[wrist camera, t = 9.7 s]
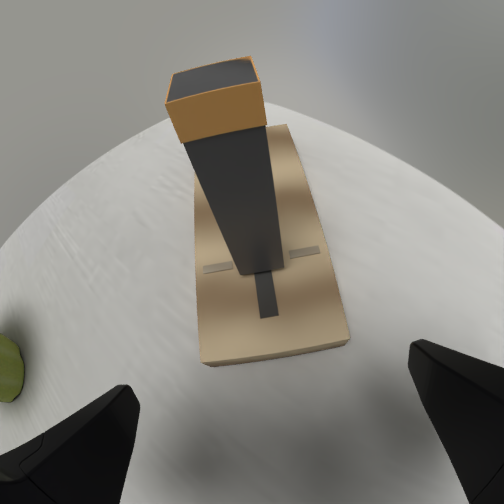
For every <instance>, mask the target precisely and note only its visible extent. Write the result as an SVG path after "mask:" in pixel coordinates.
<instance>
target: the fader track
mask: <svg viewBox="0 0 504 504" xmlns="http://www.w3.org/2000/svg"><path fill="white" fill-rule="evenodd" d="M266 133H267V140H268V146H269V153H270V160H271V167H272V174H273V181H274V188H275V196H276V203H277V211H278V219H279V227H280V235H281V243H282V251H283V260H284V268H280V269H274V270H268V271H263V272H257V273H251V274H246V275H240V274H239V272H238V270H237V267H236V265H235V263H234V261H233V258H232V256H231V254H230V252H229V249H228V247H227V245H226V242H225V240H224V238H223V236H222V233H221V231H220V229H219V226H218V224H217V222H216V220H215V217H214V215H213V213H212V210H211V208H210V206H209V203H208V201H207V199H206V196H205V194H204V192H203V189H202V187H201V185H200V182H199V180H198V178H197V175H196V173H195V190H194V219H195V269H196V295H197V315H198V332H199V347H200V360H201V363H203V364H205V365H208V366H210V367H216V366H225V365H234V364H242V363H250V362H257V361H264V360H270V359H277V358H283V357H289V356H295V355H300V354H305V353H311V352H316V351H321V350H326V349H330V348H335V347H340V346H344V345H345V344H346V343H347V342H348V340H349V339H350V335H349V331H348V326H347V322H346V318H345V314H344V309H343V305H342V301H341V297H340V293H339V289H338V285H337V281H336V277H335V274H334V270H333V266H332V263H331V259H330V255H329V252H328V248H327V245H326V241H325V238H324V234H323V231H322V227H321V224H320V221H319V218H318V214H317V211H316V208H315V205H314V201H313V198H312V195H311V192H310V189H309V186H308V183H307V180H306V177H305V174H304V171H303V168H302V165H301V162H300V159H299V157H298V154H297V151H296V148H295V145H294V143H293V140H292V137H291V134H290V132H289V129H288V126H287V124H283V125H277V126H270V127H266Z"/></svg>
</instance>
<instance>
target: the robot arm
mask: <svg viewBox="0 0 504 504" xmlns="http://www.w3.org/2000/svg"><path fill="white" fill-rule="evenodd" d="M408 368H409V371H410V373H411V376H412V378H413V381H414V383H415V386H416V388H417V391H418V394H419V396H420V399H421V401H422V404H423V406H424V408H425V410H426V412H427V414H428V416H429V418H430V420H431V422H432V424H433V426H434V428H435V430H436V432H437V434H438V436H439V438H440V440H441V442H442V444H443V446H444V448H445V450H446V452H447V454H448V456H449V458H450V460H451V463H452V465H453V467H454V469H455V471H456V473H457V476H458V478H459V480H460V483H461V485H462V487H463V490H464V492H465V494H466V497H467V499H468V502H469V504H504V368H502V367H499V366H497V365H494V364H491V363H488V362H485V361H482V360H480V359H477V358H474V357H471V356H468V355H466V354H463V353H460V352H457V351H454V350H452V349H449V348H446V347H443V346H441V345H438V344H435V343H433V342H430V341H427V340H424V339H420V340H417V341H414V342H412V343H411V344H410V350H409V359H408ZM139 413H140V403H139V401H138V399H137V397H136V395H135V394H134V392H133V390H132V388H131V387H130V386H129V385H117V386H115V387H114V388H112V389H111V390H109V391H108V392H106V393H105V394H103V395H102V396H100V397H99V398H97V399H96V400H94V401H93V402H91V403H89V404H88V405H86V406H85V407H83V408H82V409H80V410H79V411H77V412H76V413H74V414H72V415H71V416H69V417H68V418H66V419H64V420H63V421H61V422H60V423H58V424H57V425H55V426H53V427H52V428H50V429H48V430H47V431H45V433H42V434H40V435H39V436H37V437H35V438H34V439H32V440H30V441H28V442H27V443H25V444H23V445H21V446H19V447H17V448H15V449H13V450H11V451H9V452H7V453H5V454H2V455H0V504H119V503H120V499H121V495H122V491H123V487H124V482H125V478H126V474H127V471H128V467H129V463H130V459H131V455H132V452H133V448H134V443H135V438H136V431H137V425H138V419H139Z"/></svg>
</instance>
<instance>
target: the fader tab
mask: <svg viewBox="0 0 504 504" xmlns="http://www.w3.org/2000/svg"><path fill="white" fill-rule="evenodd" d="M165 106H166V109H167V111H168V114H169V116H170V118H171V121H172V123H173V126H174V128H175V130H176V133H177V135H178V138H179V140H180V142H181V143H183V144H184V147H185V149H186V151H187V154H188V156H189V159H190V161H191V163H192V166H193V168H194V170H195V173H196V175H197V178H198V180H199V182H200V185H201V187H202V189H203V192H204V194H205V196H206V199H207V201H208V203H209V206H210V208H211V210H212V213H213V215H214V217H215V220H216V222H217V224H218V226H219V229H220V231H221V233H222V236H223V238H224V240H225V242H226V245H227V247H228V249H229V252H230V254H231V256H232V258H233V261H234V263H235V265H236V267H237V270H238V272H239V274H240V275H246V274H251V273H257V272H263V271H268V270H274V269H280V268H284V260H283V251H282V243H281V235H280V227H279V219H278V211H277V203H276V196H275V188H274V181H273V174H272V167H271V160H270V153H269V146H268V140H267V133H266V126H265V125H267V121H266V114H265V108H264V101H263V95H262V89H261V83H260V80H259V77H258V74H257V71H256V68H255V65H254V63H253V60H252V57H251V56H247V57H241V58H236V59H231V60H226V61H222V62H217V63H213V64H208V65H204V66H200V67H196V68H192V69H188V70H185V71H181V72H178V73H174V74H172V76H171V80H170V84H169V88H168V92H167V96H166V100H165Z"/></svg>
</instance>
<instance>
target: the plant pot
mask: <svg viewBox="0 0 504 504" xmlns="http://www.w3.org/2000/svg"><path fill="white" fill-rule="evenodd" d="M23 378H24V364H23V361H22V359H21V356H20V353H19V347H18V346H17V345H16V344H15V343H14V342H13V341H11V340H10V339H8V338H7V337H5V336H4V335H2V334H1V333H0V402H12V400H13V399H14V398H15V397H16V396H17V395H19V393H20V391H21V388H22V385H23Z"/></svg>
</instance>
